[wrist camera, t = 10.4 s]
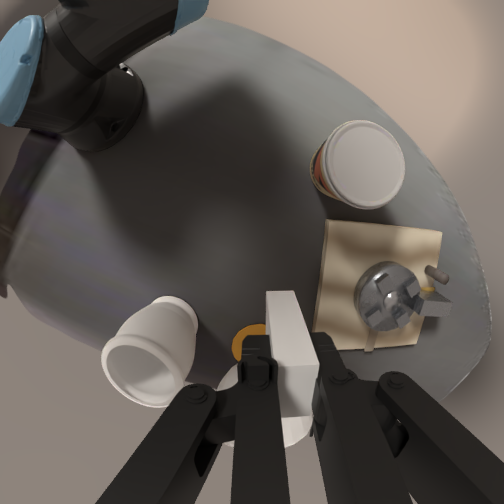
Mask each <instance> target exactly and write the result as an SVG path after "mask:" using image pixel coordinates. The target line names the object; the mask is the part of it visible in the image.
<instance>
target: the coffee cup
mask: <svg viewBox="0 0 504 504" xmlns="http://www.w3.org/2000/svg"><path fill="white" fill-rule="evenodd" d="M310 176H311V179H312V181H313V183H314V185H315V186H316V187H317V189H318V190H320V191H321V192H322V193H323V194H325V195H327V196H329V197H332V198H334V199H337V200H340V201H342V202H345V203H346V204H348V205H350V206H353V207H355V208H359V209H376V208H379V207H382V206H384V205H386V204H387V203H389V202H390V201H391V200H392V199H393V198H394V197H395V196H396V195H397V193H398V192H399V190H400V188H401V186H402V184H403V181H404V176H405V161H404V156H403V153H402V150H401V148H400V146H399V144H398V142H397V141H396V140H395V138H394V137H393V136H392V135H391V134H390V133H389V132H388V131H387V130H386V129H384V128H383V127H381V126H379V125H377V124H375V123H373V122H369V121H364V120H355V121H350V122H346V123H344V124H342V125H340V126H339V127H337V128H336V129H335V130H334V131H333V132H332V133H331V134H330V136H329V137H328V139H327V140H326V141H325V142H324V143H323V144H322V145H321V146H320V147H319V148H318V149H317V151H316V152H315V153H314V155H313V157H312V159H311V162H310Z"/></svg>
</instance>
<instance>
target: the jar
mask: <svg viewBox="0 0 504 504" xmlns="http://www.w3.org/2000/svg"><path fill="white" fill-rule="evenodd" d="M197 329H198V319H197V316H196V314H195V312H194V310H193V309H192V308H191V307H190V305H188V304H187V303H186V302H185V301H183V300H181V299H179V298H177V297H173V296H163V297H159V298H157V299H156V300H154V301H153V302H152V303H151V304H150V305H148V306H146V307H145V308H143V309H142V310H140V311H138V312H137V313H135V314H134V315H132V316H131V317H130V318H129V319H128V320H127V321H126V322H125V323H124V324H123V325H122V326H121V328H120V329H119V331H118V332H117V334H116V336H115V337H114V338H112V339H110V340H109V341H108V342H107V343H106V345H105V347H104V348H103V350H102V354H101V363H102V367H103V370H104V372H105V374H106V376H107V378H108V380H109V381H110V382H111V384H112V385H113V386H114V387H115V388H116V389H117V390H118V391H119V392H120V393H122V394H123V395H124V396H126V397H127V398H129V399H130V400H132V401H134V402H136V403H139V404H142V405H144V406H148V407H156V408H159V407H160V408H161V407H167V406H168V405H169V404H170V403H171V401H172V400H173V398H174V397H175V396H176V394H177V393H178V392H179V391H180V390H181V389H182V388H183V387H184V380H185V379H186V377H187V376H188V374H189V372H190V369H191V367H192V364H193V360H194V355H195V344H196V332H197Z"/></svg>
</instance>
